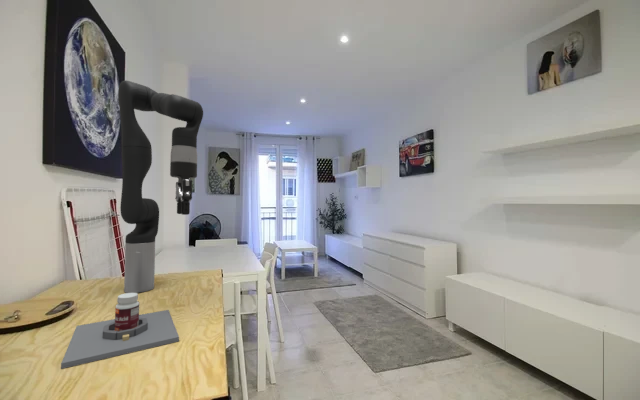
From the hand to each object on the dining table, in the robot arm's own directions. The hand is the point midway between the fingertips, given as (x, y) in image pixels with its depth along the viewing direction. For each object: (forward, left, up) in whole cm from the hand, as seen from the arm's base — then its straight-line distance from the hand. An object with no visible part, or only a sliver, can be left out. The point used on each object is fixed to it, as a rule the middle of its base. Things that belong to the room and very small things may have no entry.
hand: (182, 214), depth 88 cm
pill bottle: (+15, -14, -27) cm, 34 cm away
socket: (+15, -14, -28) cm, 35 cm away
